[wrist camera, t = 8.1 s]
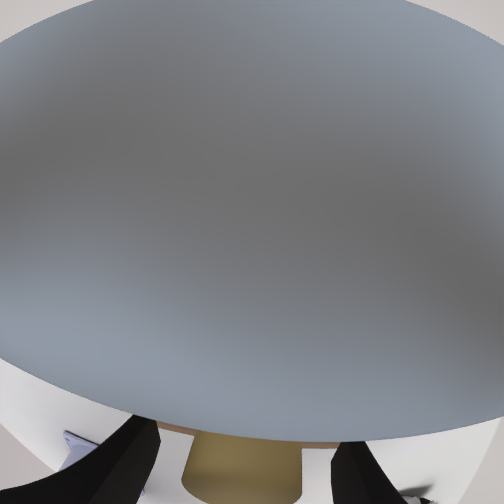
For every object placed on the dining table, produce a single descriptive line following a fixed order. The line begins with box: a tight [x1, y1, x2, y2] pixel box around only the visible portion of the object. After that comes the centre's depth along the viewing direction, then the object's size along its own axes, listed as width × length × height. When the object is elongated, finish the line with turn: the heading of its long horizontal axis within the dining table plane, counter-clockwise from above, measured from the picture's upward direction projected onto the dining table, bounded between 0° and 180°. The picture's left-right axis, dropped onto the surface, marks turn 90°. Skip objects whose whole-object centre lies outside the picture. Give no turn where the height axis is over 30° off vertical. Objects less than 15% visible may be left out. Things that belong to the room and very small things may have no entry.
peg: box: [181, 430, 302, 504], centre depth 12 cm, size 4×4×9 cm
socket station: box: [0, 0, 504, 449], centre depth 10 cm, size 18×12×10 cm, turn 176°
